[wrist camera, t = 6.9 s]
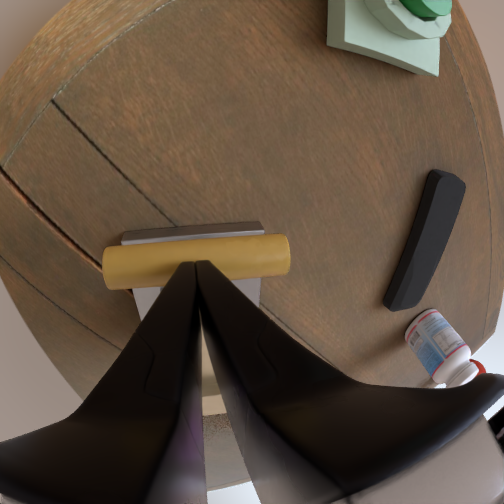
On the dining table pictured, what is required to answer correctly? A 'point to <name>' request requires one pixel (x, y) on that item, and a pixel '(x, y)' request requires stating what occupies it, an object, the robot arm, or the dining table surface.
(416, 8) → the button
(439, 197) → the remote control
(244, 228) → the latch bracket
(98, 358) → the dining table surface
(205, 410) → the latch lever
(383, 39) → the push button base
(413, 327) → the pill bottle
